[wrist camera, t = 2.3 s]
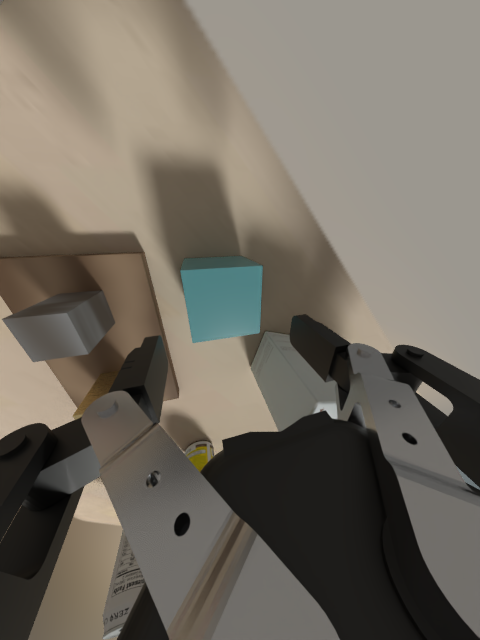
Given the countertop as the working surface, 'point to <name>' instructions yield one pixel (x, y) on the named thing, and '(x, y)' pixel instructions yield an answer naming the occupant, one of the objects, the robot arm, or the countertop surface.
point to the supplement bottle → (200, 453)
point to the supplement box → (290, 382)
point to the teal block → (222, 296)
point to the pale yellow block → (96, 391)
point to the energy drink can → (122, 590)
